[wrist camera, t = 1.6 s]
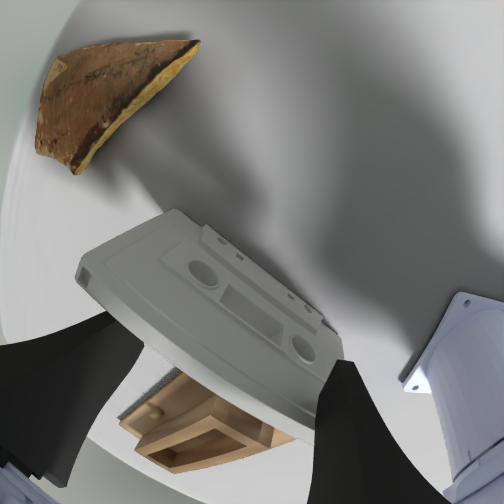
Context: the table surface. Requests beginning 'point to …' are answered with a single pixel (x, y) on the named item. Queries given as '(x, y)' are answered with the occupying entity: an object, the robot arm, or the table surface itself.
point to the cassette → (216, 318)
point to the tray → (197, 428)
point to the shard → (101, 94)
